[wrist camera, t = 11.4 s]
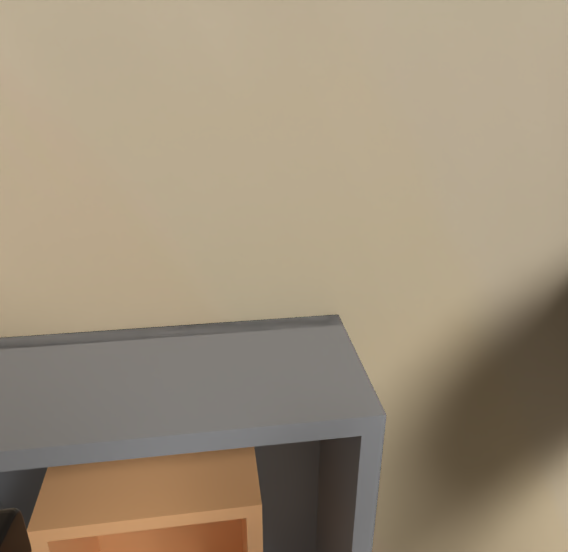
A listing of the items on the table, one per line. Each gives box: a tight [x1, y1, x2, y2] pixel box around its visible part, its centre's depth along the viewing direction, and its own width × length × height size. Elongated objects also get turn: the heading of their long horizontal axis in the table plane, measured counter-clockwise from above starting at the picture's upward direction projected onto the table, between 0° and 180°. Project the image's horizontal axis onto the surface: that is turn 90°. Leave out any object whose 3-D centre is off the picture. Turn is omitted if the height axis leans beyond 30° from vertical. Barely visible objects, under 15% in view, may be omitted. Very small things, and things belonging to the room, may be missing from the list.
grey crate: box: [0, 315, 386, 552], centre depth 21 cm, size 14×16×6 cm
